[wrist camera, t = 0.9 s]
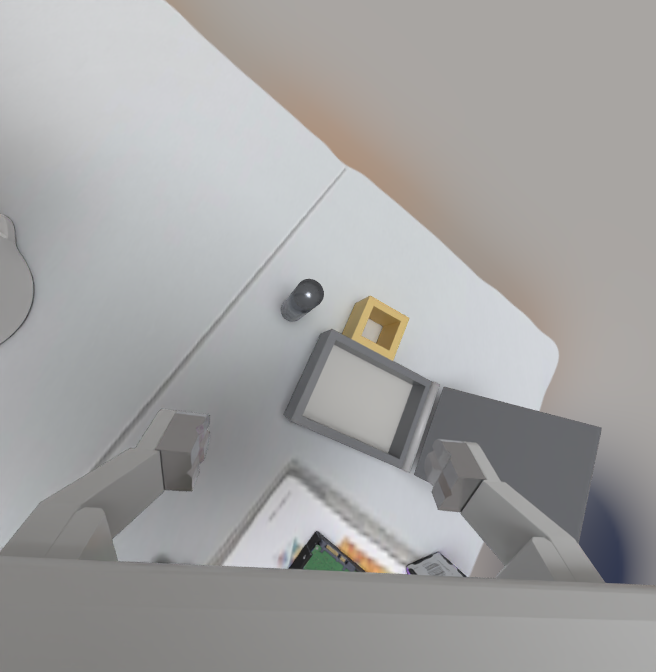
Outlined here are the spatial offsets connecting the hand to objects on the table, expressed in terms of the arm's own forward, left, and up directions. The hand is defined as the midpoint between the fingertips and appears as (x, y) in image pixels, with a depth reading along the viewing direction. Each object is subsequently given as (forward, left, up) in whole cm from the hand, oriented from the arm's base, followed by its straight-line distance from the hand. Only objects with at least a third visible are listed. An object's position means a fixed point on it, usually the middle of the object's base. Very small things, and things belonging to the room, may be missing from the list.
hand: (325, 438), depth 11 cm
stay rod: (0, +11, -29) cm, 32 cm away
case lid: (+26, +4, -17) cm, 31 cm away
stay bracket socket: (+11, +14, -29) cm, 34 cm away
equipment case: (+13, +4, -29) cm, 32 cm away
